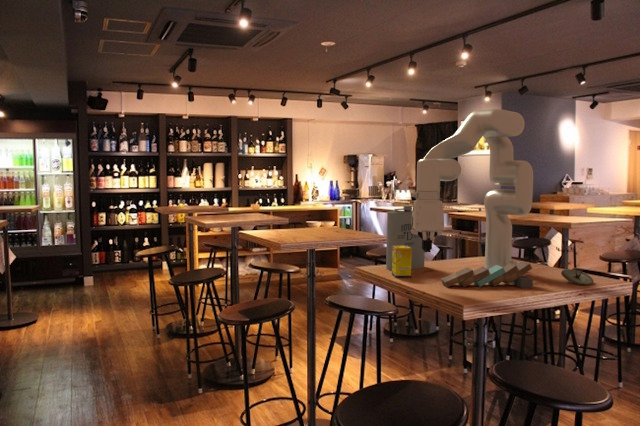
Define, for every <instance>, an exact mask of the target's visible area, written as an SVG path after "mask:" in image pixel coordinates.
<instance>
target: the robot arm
mask: <svg viewBox="0 0 640 426" xmlns="http://www.w3.org/2000/svg"><path fill="white" fill-rule="evenodd" d="M525 124H526V123H525V119H524V117H523V115H522V114H520V113H519V112H515V111H513V110H512V111H510V110H506V109H501V108H491V109H480V110H474V111H472V112H471V113H469V114H468V115H467V117H465V119H464V120H463V122H462V123H461V124H460V126H459V127H458V128H457V130H456V131H455V132H454V133H453V135H451V136H450V137H448V138H446V139H445V140H442V141H440V142H439V143H438V144H436V145H434V146H433V147H432V148H431V149H429V151H428V152H427V153H426V155H425V156H424V157H423V158H421V159H418V161H417V162H416V163H417V164H416V190H415V192H412V193H411V197H412V198H415V200H414V201H413V205H412V206H413V207H412V220H411V227H412V230H411V233H412V234H415V235H418V236H419V237H420V238H421V239H422V249H423V251H424V252H425V253H431V251H432V249H433V240H434V239H435V238H436V237H437V236H438V235H443V234H444V230H445V229H444V228H445V211H444V205H443V201H442V200H440V199H441V197H440V196H441V195H440V192H441V182H452V181H454V180H456V179H458V178H459V177H460V176H461V174H462V166H461V163H459V162H458V161H457V160H456V159H455V158H457V157H461V156H464V155H467V154H469V153H471V152H472V151H473V150H474V149H475V147H477V145H478V143H479V142H480V141H481V139H482V138H484V139H485V141H486V143H487V144H488V148H489V175H488V176H489V181H490V183H491V184H492V185H495V186H501V187H502V186H503V187H504V186H505V187H514V188H515V189H506V188H504V189H503V188H496V189H491V190H489V191H488V192H487V193H486V194H485V195H484V200H483V202H484V203H483V205H484V210H485V219H486V220H485V222H486V223H485V227H486V228H485V245H484V246H485V248H484V249H485V251H484V265H481V266H480V267H485V268H487V269H490V268H492V267H494V266H495V265H498V266H501V267H504V266H506V265H507V264H509V263H511V264H514V265H517V264H519V263H520V262H522V261H523V260H522V261H519V260H518V261H517V260H514V259H512V243H513V241H512V238H513V224H512V221H511V219H510V217H509V216H526V215H528V214H529V213H530V211H531V210H532V208H533V207H532V206H533V197H534V195H533V193H534V171H533V167H532V165H531V163H529V162H528V161H527V160H514V145H513V144H512V143H513V142H512V141H511V139H509V137H510V138H511V137H517V136H520V135H521V134H522V133H523V131H524V129H525ZM416 230H417V231H416ZM419 231H420V232H419Z"/></svg>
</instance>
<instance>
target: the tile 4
mask: <svg viewBox="0 0 640 426" xmlns="http://www.w3.org/2000/svg"><path fill="white" fill-rule="evenodd" d="M503 268H504V270H505V272H506V273H504V274H502V275H501V276H499V277H497V278H495V279H493V280H492V281H490V282H488V283H487V284H488V285H490V286H492V287H493V288H494V287H497V286H499V285H500V284H501V283H503V281H504V280H506V279H507V278H509V277H510V276H512V275H513V274H515V273H516V272H518V271H519V269H518V267H517V266H516V265H514V264H511V263H509V264H507V265H506V266H504V267H503Z"/></svg>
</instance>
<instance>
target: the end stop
mask: <svg viewBox="0 0 640 426" xmlns="http://www.w3.org/2000/svg"><path fill="white" fill-rule="evenodd" d="M511 284H512V285H514V286H516V287H518V288H521V289H528V288H529V289H532V288H533V287H534V279H533V278H531V277H530V276H527V275H526V274H524V275H522V276H521V277H519V278H518V279H516V280H515V281H513V282H512V283H511Z"/></svg>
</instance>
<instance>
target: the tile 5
mask: <svg viewBox="0 0 640 426" xmlns="http://www.w3.org/2000/svg"><path fill="white" fill-rule="evenodd" d="M516 266H517V267H518V269H519V271H518V272H516V273H515V274H513V275H512V276H510V277H509V278H507V279H506V280H504V281H503V282H502V283H504V284H505V285H507V286H508V285H510V284H512V282H513V281H515V280H516V279H518V278H519V277H521V276H522V275H526V274H527V273H528V272H530V271H531V270H532V269H533V267H532V265H531V263H529V262H527V261H523V260H522V262H520V263H519V264H517V265H516Z"/></svg>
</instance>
